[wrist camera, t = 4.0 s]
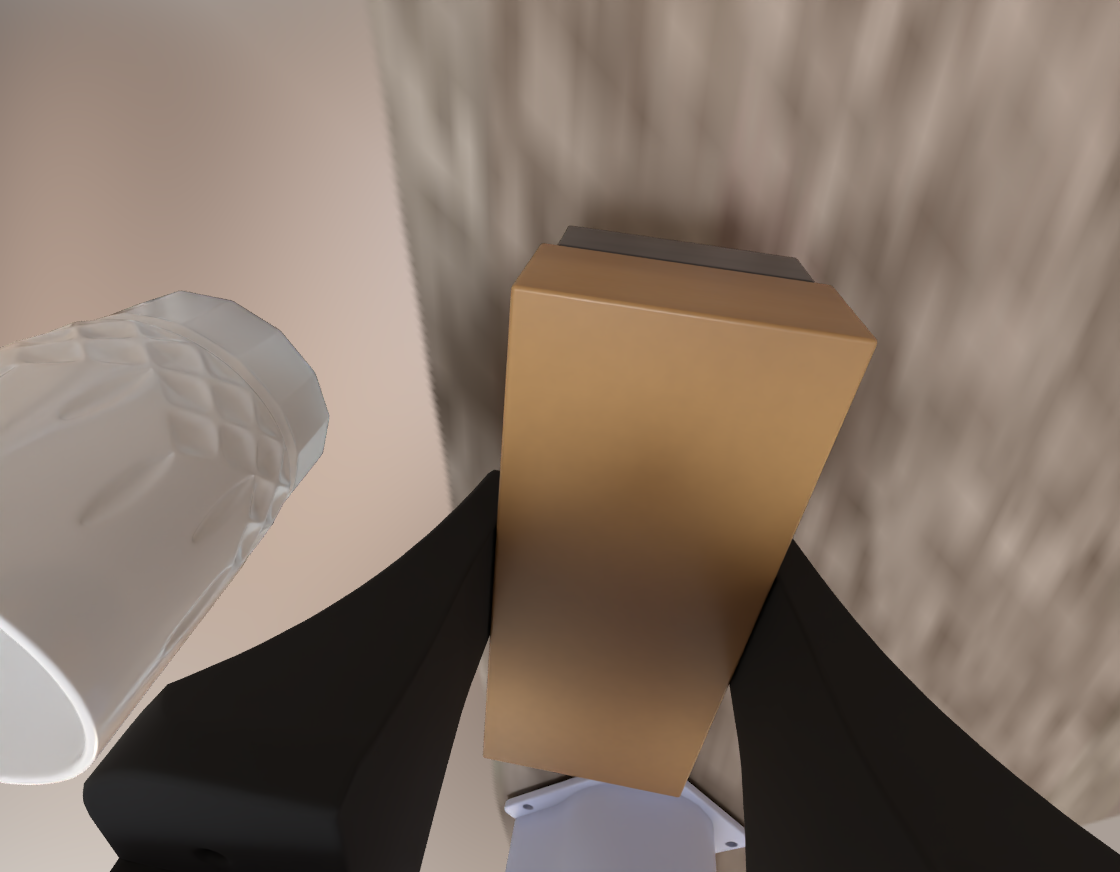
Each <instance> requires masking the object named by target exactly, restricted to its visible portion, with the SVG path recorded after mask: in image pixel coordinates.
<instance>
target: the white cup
mask: <svg viewBox="0 0 1120 872" xmlns="http://www.w3.org/2000/svg"><path fill="white" fill-rule="evenodd" d="M328 422H329V413H328V410H327V407H326V404H325V401H324V398H323V395H322V392H321V389H320V386H319V383H318V380H317V377H316V374H315V372H314V371H313V369H312V368H311V367H310V366H309V365H308V363H307V362H306V361H305V360H304V359H303V357H302V356H301V355H300V354H299V352H298V351H297V350H296V349H295V348H294V346H293V345H292V344H291V343H290V342H289V340H288V339H287V338H286V337H285V335H284V334H283V333H282V332H281V331H280V330H279V329H277V328H275V327H274V326H272V325H271V324H269V323H268V322H266V321H264V320H263V319H261V318H259V317H258V316H256V315H255V314H253V313H252V312H250V311H248V310H247V309H245V308H243V307H242V306H240V305H239V304H237V303H235V302H234V301H231V300H227V299H222V298H216V297H211V296H206V295H201V294H196V293H191V292H185V291H178V292H174V293H171V294H168V295H165V296H162V297H159V298H156V299H153V300H150V301H147V302H144V303H141V304H138V305H135V306H132V307H130V308H127V309H124V310H122V311H120V312H117V313H114V314H112V315H109V316H106V317H102V318H99V319H96V320H93V321H79V322H74V323H71V324H68V325H66V326H63V327H60V328H58V329H55V330H53V331H50V332H48V333H45V334H41V335H38V336H34V337H30V338H27V339H23V340H19V341H15V342H13V343H11V344H8V345H6V346H3V347H0V783H7V784H19V785H42V784H52V783H58V782H62V781H66V780H69V779H72V778H74V777H76V776H78V775H80V774H82V773H83V772H84V771H86V770H87V769H88V768H89V766H91V765H92V764H93V762H94V761H95V760H96V758H97V757H98V755H99V754H100V753H101V752H102V750H103V749H104V748H105V746H106V745H107V744H108V742H109V741H110V740H111V738H112V737H113V736H114V735H115V733H116V732H117V731H118V729H119V728H120V727H121V725H122V724H123V723H124V721H125V720H126V719H127V717H128V716H129V715H130V713H131V712H132V711H133V709H134V708H135V707H136V705H137V704H138V703H139V701H140V700H141V699H142V698H143V696H144V695H145V694H146V692H147V691H148V689H149V688H150V687H151V686H152V684H153V683H154V682H155V680H156V679H157V678H158V676H159V675H160V674H161V672H162V671H163V670H164V669H165V667H166V666H167V665H168V663H169V662H170V661H171V659H172V658H173V657H174V656H175V654H176V653H177V652H178V650H179V649H180V648H181V646H182V645H183V644H184V642H185V641H186V640H187V639H188V637H189V636H190V635H191V633H192V632H193V631H194V629H195V628H196V627H197V625H198V624H199V623H200V622H201V620H202V619H203V618H204V616H205V615H206V614H207V612H208V611H209V610H210V609H211V607H212V606H213V605H214V603H215V602H216V601H217V599H218V598H219V597H220V596H221V594H222V593H223V592H224V590H225V589H226V588H227V586H228V585H229V584H230V582H231V581H232V580H233V578H234V577H235V576H236V574H237V573H238V572H239V570H240V569H241V568H242V566H243V565H244V563H245V561H246V560H247V558H248V556H249V555H250V554H251V552H252V551H253V550H254V549H255V547H256V546H257V545H258V544H259V542H260V541H261V540H262V538H263V537H264V535H265V534H266V533H267V531H268V530H269V528H270V527H271V526H272V524H273V523H274V520H275V518H276V517H277V515H278V513H279V511H280V509H281V507H282V505H283V503H284V502H285V501H286V500H287V498H288V497H289V496H290V494H291V493H292V492H293V491H294V489H295V488H296V487H297V486H298V484H299V483H300V482H301V481H302V479H303V478H304V477H305V476H306V474H307V473H308V472H309V470H310V469H311V468H312V466H313V465H314V464H315V463H316V462H317V460H318V459H319V458H320V456H321V455H322V453H323V449H324V444H325V438H326V433H327V427H328Z"/></svg>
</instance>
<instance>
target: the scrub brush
mask: <svg viewBox="0 0 1120 872" xmlns="http://www.w3.org/2000/svg"><path fill="white" fill-rule="evenodd" d="M876 345H877V340H876V338H875V337H874V336H873V335H872V333H871V332H870V331H869V330H868V329H867V327H866V326H865V325H864V324H863V323H862V321H861V320H860V319H859V318H858V316H857V315H856V314H855V313H854V312H853V310H852V309H851V308H850V307H849V306H848V304H847V303H846V302H845V301H844V299H843V298H842V297H841V296H840V295H839V293H838V292H837V291H836V290H835V289H834V287H833V286H831V285H826V284H819V283H814V281H813V279H812V278H811V277H810V275H809V274H808V273H807V271H806V270H805V269H804V267H803V266H802V265H801V263H800V262H799V261H798V259H796V258H793V257H786V256H779V255H772V254H765V253H758V252H751V251H744V250H737V249H730V248H723V247H716V246H709V245H702V244H695V243H689V242H682V241H675V240H668V239H661V238H654V237H647V236H640V235H633V234H626V233H619V232H612V231H605V230H598V229H591V228H584V227H577V226H568V228H567V230H566V232H565V233H564V235H563V237H562V238H561V240H560V242H559V243H558V245H552V244H545V243H543V244H541V245H540V246H539V248H538V249H537V251H536V252H535V254H534V255H533V256H532V258H531V259H530V261H529V262H528V264H527V265H526V267H525V268H524V270H523V271H522V272H521V274H520V275H519V277H518V278H517V280H516V281H515V283H514V284H513V286H512V288H511V299H510V316H509V332H508V349H507V365H506V382H505V398H504V415H503V431H502V448H501V464H500V481H499V497H498V514H497V530H496V547H495V563H494V580H493V596H492V613H491V629H490V646H489V662H488V679H487V695H486V712H485V730H484V746H483V757H484V758H488V759H492V760H497V761H502V762H507V763H512V764H517V765H522V766H527V767H532V768H536V769H541V770H546V771H551V772H556V773H561V774H566V775H571V776H575V777H580V778H585V779H590V780H595V781H600V782H605V783H610V784H614V785H619V786H624V787H629V788H634V789H639V790H644V791H649V792H654V793H658V794H663V795H668V796H673V797H680V796H681V793H682V791H683V789H684V786H685V784H686V782H687V779H688V777H689V775H690V773H691V770H692V768H693V766H694V763H695V761H696V759H697V757H698V754H699V752H700V750H701V747H702V745H703V743H704V740H705V738H706V736H707V734H708V731H709V729H710V727H711V724H712V722H713V720H714V717H715V715H716V713H717V711H718V708H719V706H720V704H721V701H722V699H723V697H724V695H725V692H726V690H727V688H728V685H729V683H730V681H731V678H732V676H733V674H734V672H735V669H736V667H737V665H738V662H739V660H740V658H741V655H742V653H743V651H744V649H745V646H746V644H747V642H748V639H749V637H750V635H751V633H752V630H753V628H754V626H755V623H756V621H757V619H758V616H759V614H760V612H761V610H762V607H763V605H764V603H765V600H766V598H767V596H768V593H769V591H770V589H771V587H772V584H773V582H774V580H775V577H776V575H777V573H778V570H779V568H780V566H781V564H782V561H783V559H784V557H785V554H786V552H787V550H788V548H789V545H790V543H791V541H792V538H793V536H794V534H795V531H796V529H797V527H798V525H799V522H800V520H801V518H802V515H803V513H804V511H805V508H806V506H807V504H808V502H809V499H810V497H811V495H812V492H813V490H814V488H815V486H816V483H817V481H818V479H819V476H820V474H821V472H822V469H823V467H824V465H825V463H826V460H827V458H828V456H829V453H830V451H831V449H832V446H833V444H834V442H835V440H836V437H837V435H838V433H839V430H840V428H841V426H842V423H843V421H844V419H845V417H846V414H847V412H848V410H849V407H850V405H851V403H852V401H853V398H854V396H855V394H856V391H857V389H858V387H859V384H860V382H861V380H862V378H863V375H864V373H865V371H866V368H867V366H868V364H869V361H870V359H871V357H872V355H873V352H874V350H875V348H876Z"/></svg>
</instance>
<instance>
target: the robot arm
mask: <svg viewBox="0 0 1120 872" xmlns="http://www.w3.org/2000/svg"><path fill="white" fill-rule="evenodd" d="M499 481H500V471H498V470H493V471H491V472H490V473H488V474H487V475H486V477H485V478H484V479H483V480H482V481H481V482H480V483H479V485H478V486H477V487H476V488H475V489H474V490H473V491H472V492H471V493H470V494H469V495H468V496H467V497H466V498H465V499H464V500H463V501H462V502H461V504H460V505H459V506H458V507H457V508H456V509H455V510H453V511H452V512H451V513H450V514H449V515H448V516H447V517H446V518H445V519H444V520H443V521H442V522H441V523H440V524H439V525H438V526H437V527H436V528H434V529H433V530H432V531H431V532H430V533H429V534H428V535H427V536H425V537H424V538H423V539H422V540H421V541H420V542H418V543H417V544H416V545H415V546H413V547H412V548H411V549H410V550H409V551H407V552H406V553H405V554H404V555H403V556H401V557H400V558H399V559H398V560H397V561H395V562H394V563H392V564H391V565H390V566H389V567H387V568H386V569H385V570H383V571H382V572H380V573H379V574H378V575H376V576H375V577H374V578H372V579H371V580H369V581H368V582H367V583H365V584H363V585H362V586H361V587H359V588H358V589H356V590H355V591H353V592H351V593H350V594H348V595H347V596H345V597H344V598H342V599H340V600H339V601H337V602H336V603H334V604H332V605H331V606H329V607H328V608H326V609H324V610H323V611H321V612H319V613H318V614H316V615H314V616H312V617H311V618H309V619H307V620H305V621H304V622H302V623H300V624H298V625H296V626H294V627H292V628H290V629H288V630H286V631H285V632H283V633H281V634H279V635H277V636H275V637H273V638H271V639H269V640H267V641H266V642H264V643H262V644H259V645H257V646H256V647H254V648H251V649H249V650H247V651H245V652H243V653H241V654H239V655H236V656H234V657H232V658H229V659H227V660H225V661H222V662H220V663H218V664H215V665H213V666H211V667H208V668H206V669H204V670H201V671H199V672H197V673H194V674H192V675H190V676H187V677H185V678H183V679H180V680H177V681H175V682H172V683H170V684H168V685H167V686H166V687H165V688H164V689H163V690H162V691H161V692H160V693H159V694H158V695H157V696H156V697H155V698H154V699H153V701H152V702H151V703H150V704H149V705H148V706H147V707H146V708H145V709H144V710H143V711H142V713H140V715H139V716H138V717H137V718H136V719H135V721H134V722H133V723H132V724H131V725H130V727H129V728H128V729H127V731H126V732H125V733H124V734H123V735H122V737H121V738H120V739H119V740H118V742H117V743H116V744H115V746H114V747H113V748H112V749H111V750H110V752H109V753H108V754H107V755H106V757H105V758H104V759H103V760H102V762H101V763H100V764H99V765H98V767H97V768H96V769H95V770H94V772H93V773H92V774H91V775H90V777H89V778H88V779H87V780H86V782H85V783H84V789H83V801H84V804H85V807H86V809H87V811H88V813H89V815H90V817H91V818H92V820H93V821H94V823H95V824H96V825H97V827H98V828H99V830H100V831H101V833H102V834H103V835H104V837H105V838H106V840H107V841H108V843H109V844H110V845H111V847H112V848H113V850H114V851H115V853H116V854H117V855H118V857H119V859H118V860H117V862H116V864H115V865H114V866H113V868H112V869H111V871H110V872H420V868H421V864H422V860H423V856H424V852H425V848H426V844H427V840H428V837H429V832H430V829H431V825H432V821H433V817H434V813H435V809H436V806H437V801H438V798H439V794H440V790H441V787H442V783H443V779H444V775H445V772H446V768H447V764H448V760H449V757H450V753H451V749H452V746H453V742H454V739H455V735H456V731H457V728H458V724H459V720H460V717H461V713H462V710H463V707H464V703H465V701H466V698H467V695H468V692H469V689H470V686H471V683H472V681H473V678H474V675H475V673H476V670H477V667H478V665H479V662H480V659H481V657H482V654H483V652H484V649H485V646H486V644H487V641H488V638H489V636H490V629H491V613H492V596H493V580H494V563H495V547H496V530H497V514H498V497H499ZM729 685H730V691H731V697H732V704H733V710H734V716H735V723H736V729H737V736H738V742H739V751H740V760H741V769H742V787H743V805H744V823H745V828H744V827H743V826H741V825H740V824H739V823H738V822H737V821H735V820H734V819H733V818H732V817H731V816H729V815H728V814H727V813H726V812H725V811H723V810H722V809H721V808H720V807H719V806H717V805H716V804H715V803H714V802H713V801H711V800H710V799H709V798H708V797H706V796H705V795H704V794H703V793H702V792H700V791H699V790H698V789H697V788H696V787H694V786H693V785H692V784H691V783H690V782H688V781H687V782H686V784H685V786H684V789H683V791H682V793H681V796H680V797H673V796H668V795H663V794H658V793H654V792H649V791H644V790H639V789H634V788H629V787H624V786H619V785H614V784H610V783H605V782H600V781H595V780H590V779H585V778H580V777H574V778H571V779H568V780H565V781H562V782H559V783H556V784H553V785H550V786H547V787H544V788H541V789H538V790H535V791H532V792H529V793H526V794H523V795H519V796H516V797H513V798H510V799H508V800H507V801H506V803H505V808H504V809H505V811H506V812H507V813H508V814H509V815H510V816H512V817H513V818H515V823H514V829H513V834H512V839H511V844H510V850H509V855H508V861H507V865H506V871H505V872H716V858H715V853H719V852H723V851H728V850H732V849H737V848H742V847H745V849H746V872H1120V854H1118V853H1117V852H1115V851H1114V850H1113V849H1111V848H1110V847H1109V846H1107V845H1106V844H1104V843H1103V842H1102V841H1100V840H1099V839H1097V838H1096V837H1095V836H1093V835H1092V834H1090V833H1089V832H1088V831H1086V830H1085V829H1083V828H1082V827H1081V826H1079V825H1078V824H1077V823H1075V822H1074V821H1073V820H1071V819H1070V818H1069V817H1067V816H1066V815H1065V814H1063V813H1062V812H1061V811H1060V810H1058V809H1057V808H1056V807H1055V806H1053V805H1052V804H1051V803H1049V802H1048V801H1047V800H1046V799H1044V798H1043V797H1042V796H1041V795H1039V794H1038V793H1037V792H1036V791H1034V790H1033V789H1032V788H1031V787H1029V786H1028V785H1027V784H1025V783H1024V782H1023V781H1022V780H1020V779H1019V778H1018V777H1017V776H1015V775H1014V774H1013V773H1012V772H1011V771H1009V770H1008V769H1007V768H1006V767H1005V766H1003V765H1002V764H1001V763H1000V762H999V761H997V760H996V759H995V758H994V757H993V756H991V755H990V754H989V753H988V752H987V751H986V750H984V749H983V748H982V747H981V746H980V745H979V744H978V743H977V742H976V741H974V740H973V739H972V738H971V737H970V736H969V735H968V734H967V733H965V732H964V731H963V730H962V729H961V728H960V727H959V726H958V725H956V724H955V723H954V722H953V721H952V720H951V719H950V718H949V717H947V716H946V715H945V714H944V713H943V712H942V711H941V710H940V709H939V708H938V707H937V706H936V705H935V704H934V703H933V702H932V701H931V700H929V699H928V698H927V697H926V696H925V695H924V694H923V693H922V692H921V691H920V690H919V689H918V688H917V687H916V686H915V684H914V683H913V682H912V681H911V680H910V679H909V678H908V677H907V676H906V675H905V674H904V673H903V672H902V671H901V670H900V669H899V668H898V667H897V666H896V665H895V664H894V663H893V662H892V661H891V660H890V659H889V658H888V657H887V656H886V655H885V653H884V652H883V651H882V650H881V649H880V648H879V647H878V646H877V645H876V643H875V642H874V641H873V640H872V639H871V638H870V636H869V635H868V634H867V633H866V632H865V631H864V630H863V628H862V627H861V626H860V625H859V624H858V623H857V622H856V620H855V619H854V618H853V617H852V615H851V614H850V613H849V612H848V611H847V609H846V608H845V607H844V606H843V604H842V603H841V602H840V601H839V599H838V598H837V597H836V596H835V594H834V593H833V592H832V591H831V589H830V588H829V587H828V585H827V584H826V583H825V581H824V580H823V579H822V578H821V576H820V575H819V574H818V572H817V571H816V570H815V568H814V567H813V565H812V564H811V563H810V561H809V560H808V559H807V557H806V556H805V555H804V553H803V552H802V550H801V549H800V548H799V546H798V545H797V544H796V542H795V541H794V539H793V538H792V541H791V543H790V545H789V548H788V550H787V552H786V554H785V557H784V559H783V561H782V564H781V566H780V568H779V570H778V573H777V575H776V577H775V580H774V582H773V584H772V587H771V589H770V591H769V593H768V596H767V598H766V600H765V603H764V605H763V607H762V610H761V612H760V614H759V616H758V619H757V621H756V623H755V626H754V628H753V630H752V633H751V635H750V637H749V639H748V642H747V644H746V646H745V649H744V651H743V653H742V655H741V658H740V660H739V662H738V665H737V667H736V669H735V672H734V674H733V676H732V678H731V681H730V683H729Z"/></svg>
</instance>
